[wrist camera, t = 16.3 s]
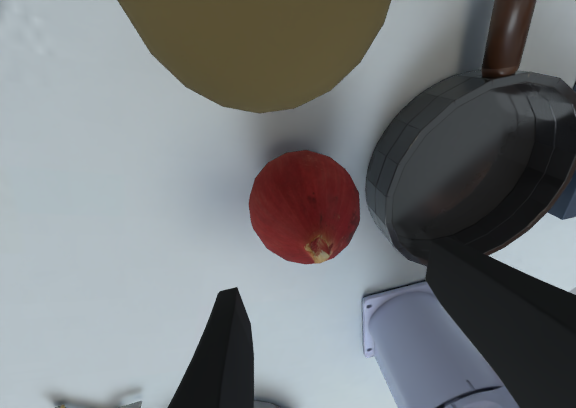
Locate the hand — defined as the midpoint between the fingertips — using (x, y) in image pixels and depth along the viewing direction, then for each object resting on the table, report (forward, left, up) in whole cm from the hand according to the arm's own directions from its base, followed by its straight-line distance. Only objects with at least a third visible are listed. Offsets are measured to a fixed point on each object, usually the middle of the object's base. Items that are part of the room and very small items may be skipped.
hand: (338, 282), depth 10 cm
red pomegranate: (0, 0, -9) cm, 9 cm away
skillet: (-2, -11, -9) cm, 15 cm away
